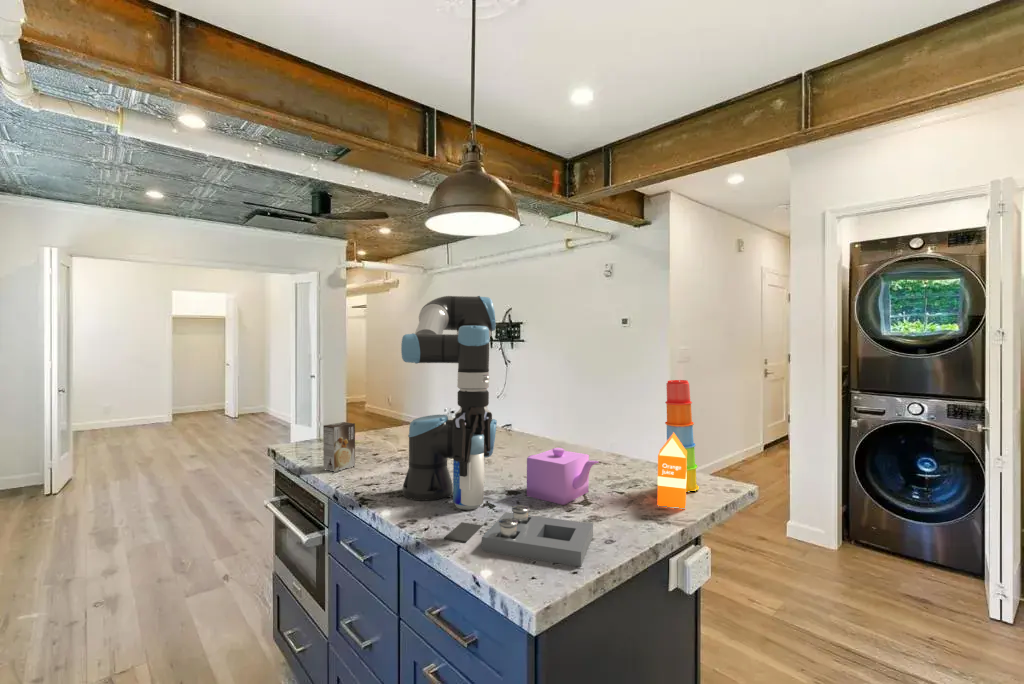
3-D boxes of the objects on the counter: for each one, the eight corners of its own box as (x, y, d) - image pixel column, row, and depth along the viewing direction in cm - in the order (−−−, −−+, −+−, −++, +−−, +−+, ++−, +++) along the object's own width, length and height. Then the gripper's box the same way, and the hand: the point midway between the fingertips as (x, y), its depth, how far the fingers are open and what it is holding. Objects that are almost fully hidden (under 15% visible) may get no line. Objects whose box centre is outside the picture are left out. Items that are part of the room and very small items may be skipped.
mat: (443, 539, 111) (443, 537, 111) (461, 523, 120) (461, 522, 120) (483, 545, 107) (483, 543, 107) (498, 529, 117) (498, 527, 117)
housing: (481, 552, 104) (481, 536, 104) (505, 525, 119) (505, 512, 119) (580, 569, 97) (581, 552, 97) (592, 538, 112) (593, 523, 112)
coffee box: (344, 464, 176) (344, 421, 176) (355, 467, 172) (356, 423, 172) (322, 470, 168) (323, 425, 168) (333, 472, 165) (334, 427, 165)
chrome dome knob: (496, 543, 104) (496, 523, 104) (502, 536, 108) (502, 517, 108) (514, 546, 103) (514, 526, 103) (520, 539, 107) (520, 519, 107)
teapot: (586, 511, 130) (586, 460, 130) (513, 493, 145) (513, 447, 145) (609, 496, 142) (610, 450, 142) (540, 481, 157) (540, 439, 157)
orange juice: (656, 506, 134) (657, 436, 134) (659, 496, 143) (660, 430, 143) (686, 510, 132) (686, 438, 132) (686, 500, 140) (687, 432, 140)
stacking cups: (691, 495, 144) (692, 382, 144) (659, 488, 151) (660, 380, 151) (704, 488, 152) (705, 380, 152) (673, 481, 159) (674, 378, 159)
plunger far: (509, 528, 113) (509, 510, 113) (514, 522, 117) (515, 504, 117) (526, 531, 111) (526, 512, 111) (531, 524, 115) (531, 506, 115)
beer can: (485, 509, 131) (486, 451, 131) (455, 511, 128) (456, 453, 128) (479, 499, 139) (479, 444, 139) (450, 501, 137) (451, 446, 136)
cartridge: (469, 507, 110) (470, 438, 110) (456, 501, 114) (457, 435, 114) (487, 502, 113) (488, 435, 113) (474, 496, 117) (475, 432, 117)
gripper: (464, 393, 104) (463, 499, 104) (505, 387, 120) (504, 478, 120) (437, 391, 107) (436, 493, 107) (480, 385, 124) (479, 474, 123)
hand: (472, 485), depth 114 cm, fingers closed on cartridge, 5 cm apart
